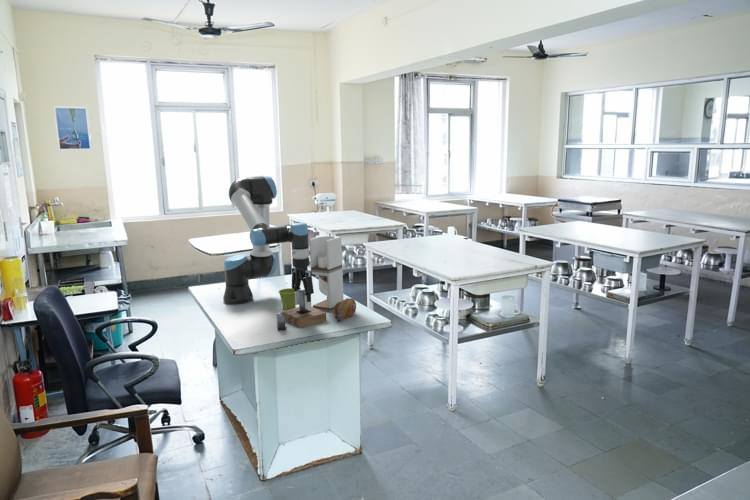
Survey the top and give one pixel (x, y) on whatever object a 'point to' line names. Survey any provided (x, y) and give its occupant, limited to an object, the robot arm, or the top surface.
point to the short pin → (281, 322)
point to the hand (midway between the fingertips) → (303, 306)
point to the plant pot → (288, 298)
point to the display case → (327, 269)
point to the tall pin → (302, 302)
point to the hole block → (304, 317)
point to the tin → (344, 309)
